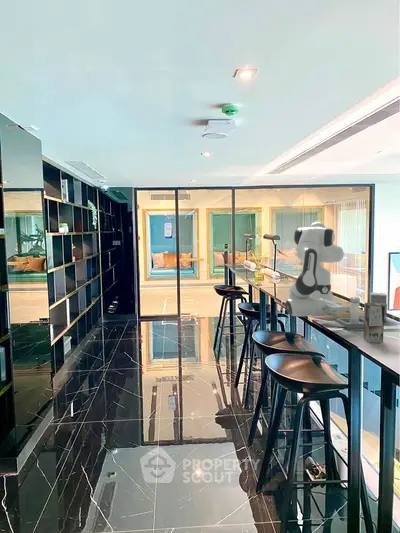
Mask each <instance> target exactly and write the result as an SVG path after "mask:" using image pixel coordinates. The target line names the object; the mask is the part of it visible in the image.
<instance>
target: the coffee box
mask: <svg viewBox="0 0 400 533" xmlns="http://www.w3.org/2000/svg"><path fill="white" fill-rule="evenodd" d="M363 310H364V313H363V319H364V330H363V338H364V339H365V340H366V341H367V342H368V343H379V344H383V343H384V332H385V331H384V330H385V327H384V326H385V321H384V312H385V306H384V305H382V304H380V303H370V302H364V309H363Z"/></svg>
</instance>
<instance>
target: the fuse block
mask: <svg viewBox="0 0 400 533" xmlns="http://www.w3.org/2000/svg"><path fill="white" fill-rule="evenodd" d="M330 316H331V317H332V318H335V319H338V318H350V310H347V311H345V314H330Z"/></svg>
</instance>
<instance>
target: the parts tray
mask: <svg viewBox="0 0 400 533" xmlns="http://www.w3.org/2000/svg"><path fill="white" fill-rule="evenodd" d="M335 322H336V323H338V324H340V325H342V326H341V328H343V329H344V330H346V331H357V330H358V331H359V330H360V331H362V330H363V331H364V317H359V323H350V318H338V319H337V318H335ZM348 322H349V323H348Z"/></svg>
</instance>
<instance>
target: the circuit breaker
mask: <svg viewBox="0 0 400 533" xmlns="http://www.w3.org/2000/svg"><path fill="white" fill-rule="evenodd" d="M369 293H370V296H369V303H380V304H382V305H384V306H385V312H384V322H386V321H387V315H388V313H387V312H388V303H387V299H388V298H387V297H388V294H387V293H385V292H369Z"/></svg>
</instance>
